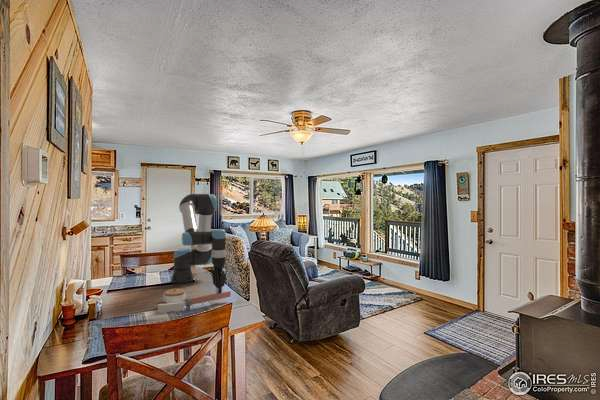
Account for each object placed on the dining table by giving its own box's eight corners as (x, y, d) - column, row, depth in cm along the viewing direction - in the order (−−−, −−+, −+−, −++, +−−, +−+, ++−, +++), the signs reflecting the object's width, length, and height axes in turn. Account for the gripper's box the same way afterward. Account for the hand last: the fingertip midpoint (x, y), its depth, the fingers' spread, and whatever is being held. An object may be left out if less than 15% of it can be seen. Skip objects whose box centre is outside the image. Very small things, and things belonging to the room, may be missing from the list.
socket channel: (163, 301, 173) (163, 294, 173) (192, 298, 178) (192, 291, 178) (157, 313, 154) (157, 305, 154) (190, 310, 159) (190, 302, 159)
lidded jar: (162, 309, 160) (162, 291, 160) (165, 302, 170) (165, 286, 170) (184, 307, 163) (184, 290, 163) (186, 301, 173) (186, 285, 173)
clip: (228, 295, 175) (228, 290, 175) (231, 297, 173) (231, 291, 173) (184, 304, 160) (184, 298, 160) (186, 306, 157) (186, 300, 158)
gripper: (206, 256, 173) (206, 297, 173) (219, 259, 164) (219, 302, 164) (218, 254, 178) (217, 294, 179) (231, 257, 170) (231, 299, 170)
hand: (218, 298), depth 172 cm, fingers closed
